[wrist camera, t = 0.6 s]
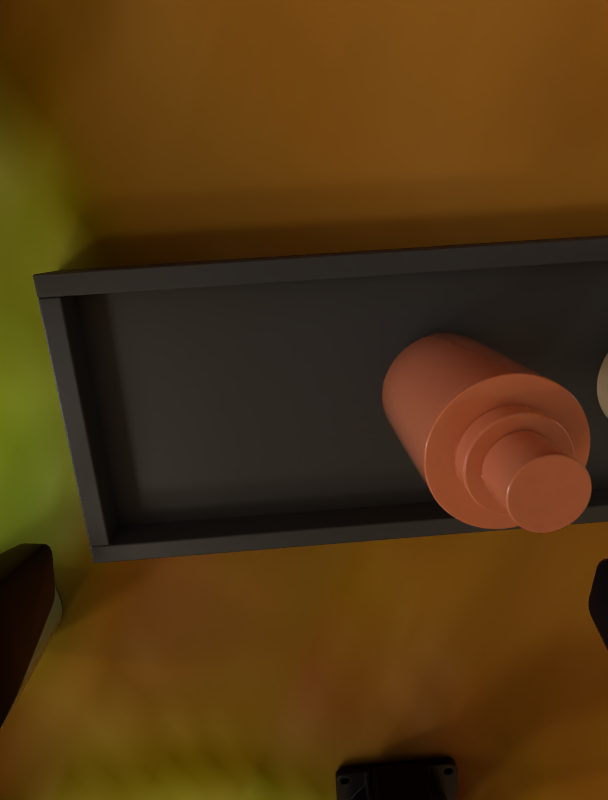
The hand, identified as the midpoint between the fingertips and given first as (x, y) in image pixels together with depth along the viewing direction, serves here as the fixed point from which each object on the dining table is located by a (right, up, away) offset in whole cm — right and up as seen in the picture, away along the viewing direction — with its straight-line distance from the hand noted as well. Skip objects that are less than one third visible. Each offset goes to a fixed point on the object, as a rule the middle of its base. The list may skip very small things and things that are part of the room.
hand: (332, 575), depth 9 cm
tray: (+5, +3, +14) cm, 15 cm away
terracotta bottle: (+5, +3, +13) cm, 15 cm away
